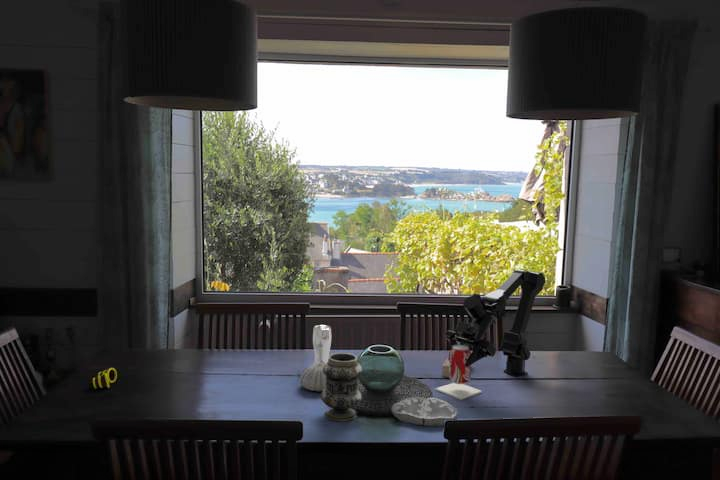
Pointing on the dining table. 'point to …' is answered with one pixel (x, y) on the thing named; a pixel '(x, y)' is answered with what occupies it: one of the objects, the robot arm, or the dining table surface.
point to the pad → (458, 390)
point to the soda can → (459, 364)
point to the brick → (446, 368)
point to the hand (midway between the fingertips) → (457, 363)
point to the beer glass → (321, 343)
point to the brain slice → (424, 411)
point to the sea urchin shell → (314, 378)
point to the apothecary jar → (341, 386)
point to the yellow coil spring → (105, 378)
